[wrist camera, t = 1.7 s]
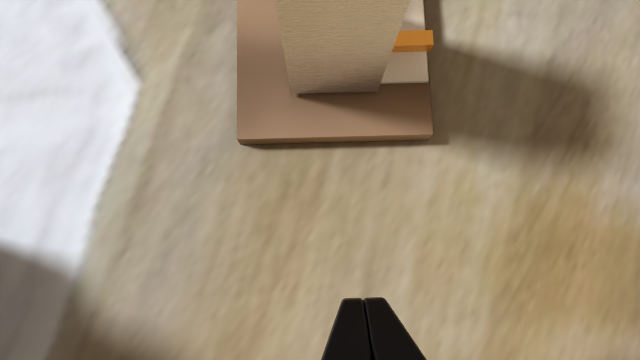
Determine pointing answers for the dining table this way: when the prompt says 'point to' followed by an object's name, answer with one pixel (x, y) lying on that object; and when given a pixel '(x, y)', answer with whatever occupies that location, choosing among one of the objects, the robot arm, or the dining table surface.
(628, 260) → the dining table surface
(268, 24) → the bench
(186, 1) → the dining table surface
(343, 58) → the pale grey block
